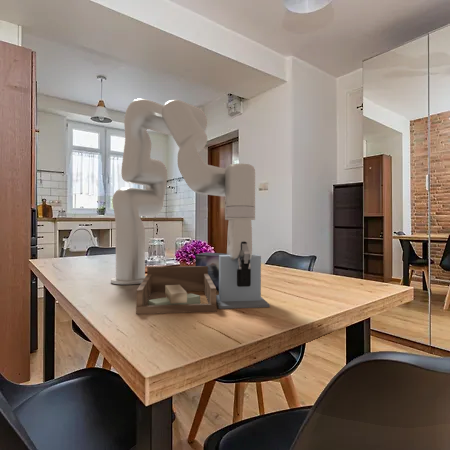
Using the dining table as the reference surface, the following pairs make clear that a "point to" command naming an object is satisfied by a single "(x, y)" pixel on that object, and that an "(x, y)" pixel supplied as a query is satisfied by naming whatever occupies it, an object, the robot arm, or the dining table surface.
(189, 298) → the offcut lower
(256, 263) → the block
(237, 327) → the dining table surface
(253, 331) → the dining table surface
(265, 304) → the pad
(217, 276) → the small box
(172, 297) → the offcut upper
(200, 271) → the brown wooden tray
